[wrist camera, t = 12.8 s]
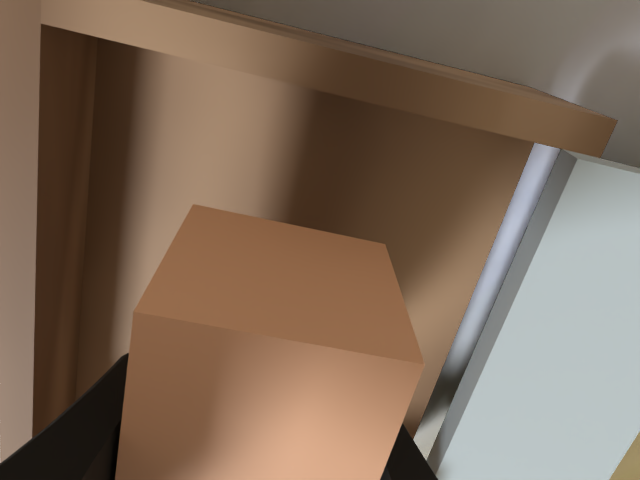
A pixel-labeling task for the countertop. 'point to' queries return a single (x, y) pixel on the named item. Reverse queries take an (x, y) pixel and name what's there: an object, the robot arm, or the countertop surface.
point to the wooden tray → (233, 171)
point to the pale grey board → (557, 341)
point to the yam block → (266, 356)
